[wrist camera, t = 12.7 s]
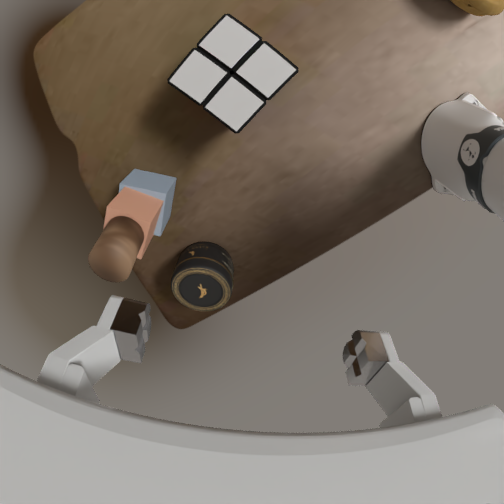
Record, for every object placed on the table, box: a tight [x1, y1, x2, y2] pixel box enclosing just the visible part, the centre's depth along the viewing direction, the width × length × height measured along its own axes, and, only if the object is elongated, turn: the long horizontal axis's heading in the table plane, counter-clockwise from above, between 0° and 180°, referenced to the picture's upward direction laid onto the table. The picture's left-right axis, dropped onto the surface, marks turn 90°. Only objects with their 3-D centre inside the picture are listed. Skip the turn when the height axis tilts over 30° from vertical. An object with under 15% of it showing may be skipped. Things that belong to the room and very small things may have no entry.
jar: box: [171, 242, 234, 311], centre depth 49 cm, size 10×10×8 cm
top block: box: [103, 186, 164, 259], centre depth 37 cm, size 6×6×6 cm
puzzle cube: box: [167, 14, 298, 133], centre depth 30 cm, size 10×10×10 cm
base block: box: [119, 169, 177, 236], centre depth 42 cm, size 7×7×6 cm
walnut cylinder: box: [88, 216, 144, 282], centre depth 32 cm, size 5×5×6 cm
